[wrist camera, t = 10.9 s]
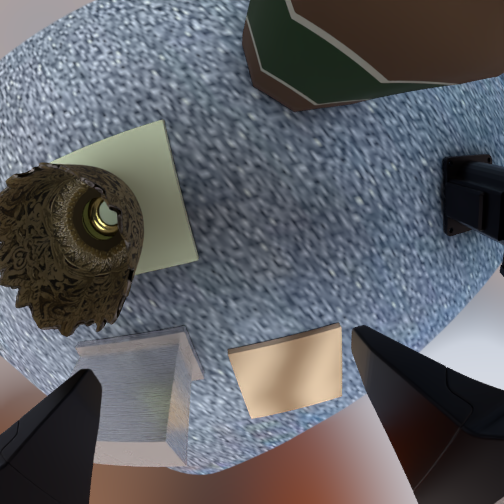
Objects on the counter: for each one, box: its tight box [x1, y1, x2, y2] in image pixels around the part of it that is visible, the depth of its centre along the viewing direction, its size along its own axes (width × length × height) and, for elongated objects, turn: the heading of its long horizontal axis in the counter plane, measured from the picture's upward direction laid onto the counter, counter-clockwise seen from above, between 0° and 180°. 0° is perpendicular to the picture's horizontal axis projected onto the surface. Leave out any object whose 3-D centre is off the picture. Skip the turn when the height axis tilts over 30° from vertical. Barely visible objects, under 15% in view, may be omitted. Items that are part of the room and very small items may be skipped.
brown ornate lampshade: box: [0, 163, 144, 337], centre depth 13 cm, size 8×7×8 cm
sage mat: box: [50, 120, 199, 275], centre depth 17 cm, size 9×9×1 cm
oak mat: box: [228, 323, 342, 419], centre depth 23 cm, size 9×9×1 cm
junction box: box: [69, 326, 205, 467], centre depth 17 cm, size 10×5×10 cm, turn 101°
